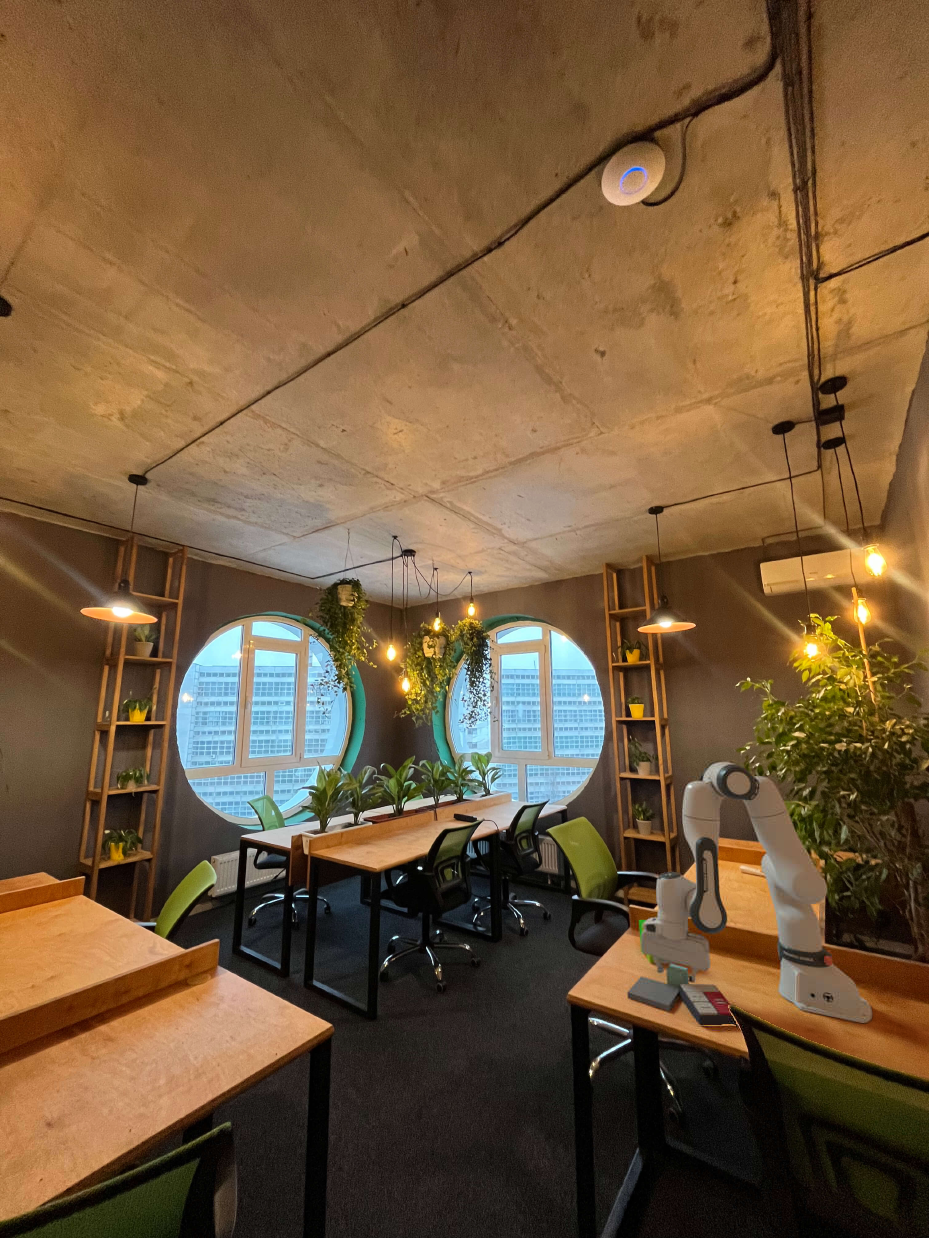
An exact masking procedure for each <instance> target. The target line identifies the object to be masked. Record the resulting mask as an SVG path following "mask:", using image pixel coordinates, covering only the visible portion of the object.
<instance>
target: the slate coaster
mask: <svg viewBox="0 0 929 1238" xmlns="http://www.w3.org/2000/svg"><path fill="white" fill-rule="evenodd" d="M627 999H630V1000H633V1001H636V1002H640V1003H642V1004H645V1005H648V1006H651V1007H655V1008H657V1009H661V1010H662V1011H666V1012H670V1011H671V1009H672V1008H673V1006H674V1005H675V1004H676V1003H677V1000H678V999H680V997H679V988H678V987H675V986H672V985H668V984H667V983H665V982H661V981H658V980H656V979H652V978H649V977H645V976H643V975H642V976H640V977H639V978H638V979H637V981H636V982H635V983H634V984H633V985H632V986H631V987H630V989H629V990H628V991H627Z"/></svg>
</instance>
